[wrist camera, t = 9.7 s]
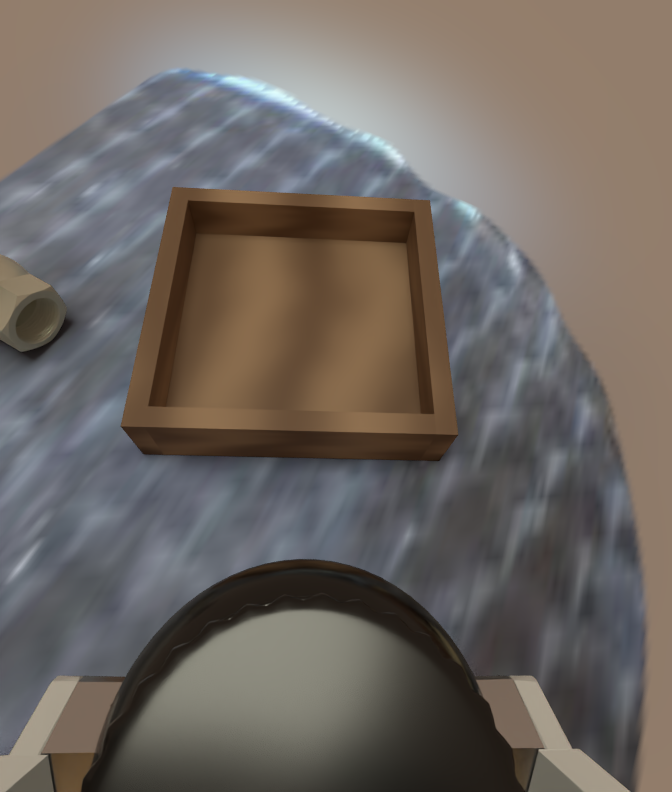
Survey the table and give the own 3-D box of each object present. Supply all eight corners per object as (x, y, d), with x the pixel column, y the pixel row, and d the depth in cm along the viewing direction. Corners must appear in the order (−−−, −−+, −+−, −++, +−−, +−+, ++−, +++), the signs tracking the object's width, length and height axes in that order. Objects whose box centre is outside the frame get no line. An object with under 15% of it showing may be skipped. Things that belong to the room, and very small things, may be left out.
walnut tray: (143, 454, 25) (120, 426, 22) (185, 232, 31) (172, 187, 28) (439, 460, 25) (458, 434, 22) (417, 243, 32) (429, 200, 29)
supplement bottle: (402, 872, 14) (750, 1618, 3) (160, 846, 14) (-313, 1530, 3) (410, 608, 17) (598, 543, 6) (213, 586, 17) (69, 480, 6)
